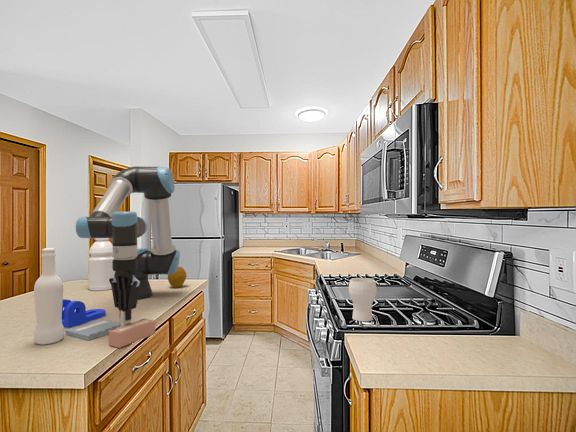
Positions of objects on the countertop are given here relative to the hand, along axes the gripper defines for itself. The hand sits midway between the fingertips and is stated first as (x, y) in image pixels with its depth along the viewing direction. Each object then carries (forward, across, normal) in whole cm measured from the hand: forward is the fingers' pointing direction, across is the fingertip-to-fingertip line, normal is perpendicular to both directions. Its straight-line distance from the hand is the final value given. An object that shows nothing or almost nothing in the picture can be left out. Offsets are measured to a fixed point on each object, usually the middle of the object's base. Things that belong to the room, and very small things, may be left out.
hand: (125, 329), depth 119 cm
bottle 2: (+3, -76, +47) cm, 89 cm away
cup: (+3, +64, +56) cm, 85 cm away
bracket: (+3, -32, +6) cm, 32 cm away
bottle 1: (+3, -20, -13) cm, 24 cm away
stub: (+3, +4, 0) cm, 4 cm away
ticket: (+3, -15, 0) cm, 15 cm away
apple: (+3, -42, +67) cm, 79 cm away
